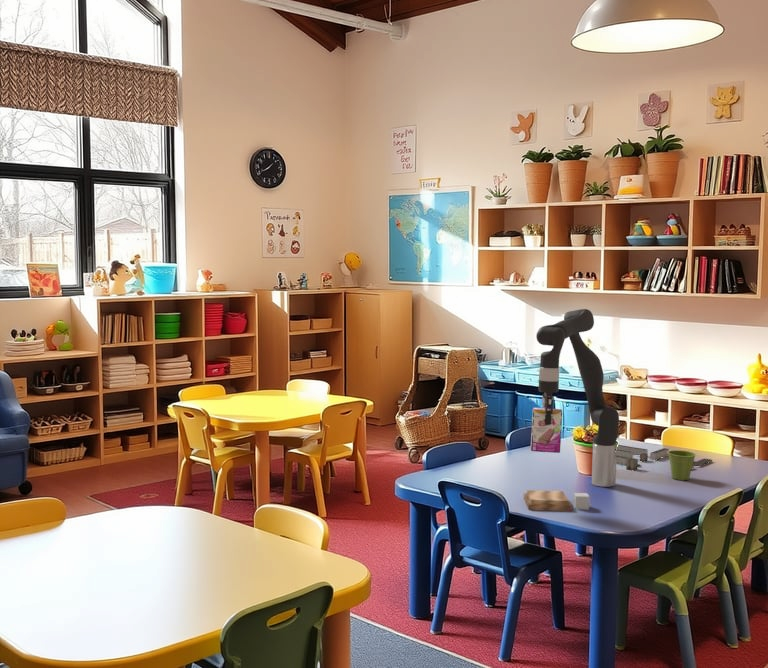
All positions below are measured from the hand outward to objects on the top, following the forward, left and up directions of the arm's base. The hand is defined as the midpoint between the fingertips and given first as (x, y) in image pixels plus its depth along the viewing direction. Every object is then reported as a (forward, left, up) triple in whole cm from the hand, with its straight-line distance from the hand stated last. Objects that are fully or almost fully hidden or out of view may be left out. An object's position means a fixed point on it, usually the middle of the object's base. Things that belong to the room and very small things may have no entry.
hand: (546, 423), depth 339 cm
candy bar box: (0, 0, -11) cm, 11 cm away
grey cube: (-13, +5, -31) cm, 34 cm away
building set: (-58, -76, -32) cm, 101 cm away
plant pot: (-65, -44, -31) cm, 84 cm away
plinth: (-1, +2, -31) cm, 31 cm away
